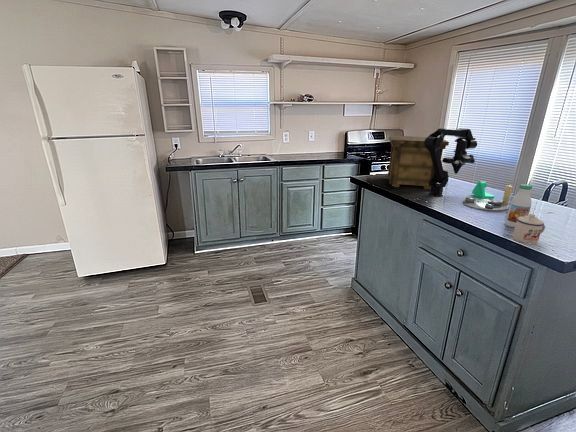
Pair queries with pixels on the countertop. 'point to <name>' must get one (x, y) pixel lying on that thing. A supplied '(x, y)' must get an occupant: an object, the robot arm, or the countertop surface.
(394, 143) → the crate
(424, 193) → the countertop surface
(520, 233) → the teacup with lid
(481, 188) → the camera mount
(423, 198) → the countertop surface
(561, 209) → the countertop surface
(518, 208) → the milk bottle
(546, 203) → the countertop surface
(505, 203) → the tan post with disc
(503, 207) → the plate
